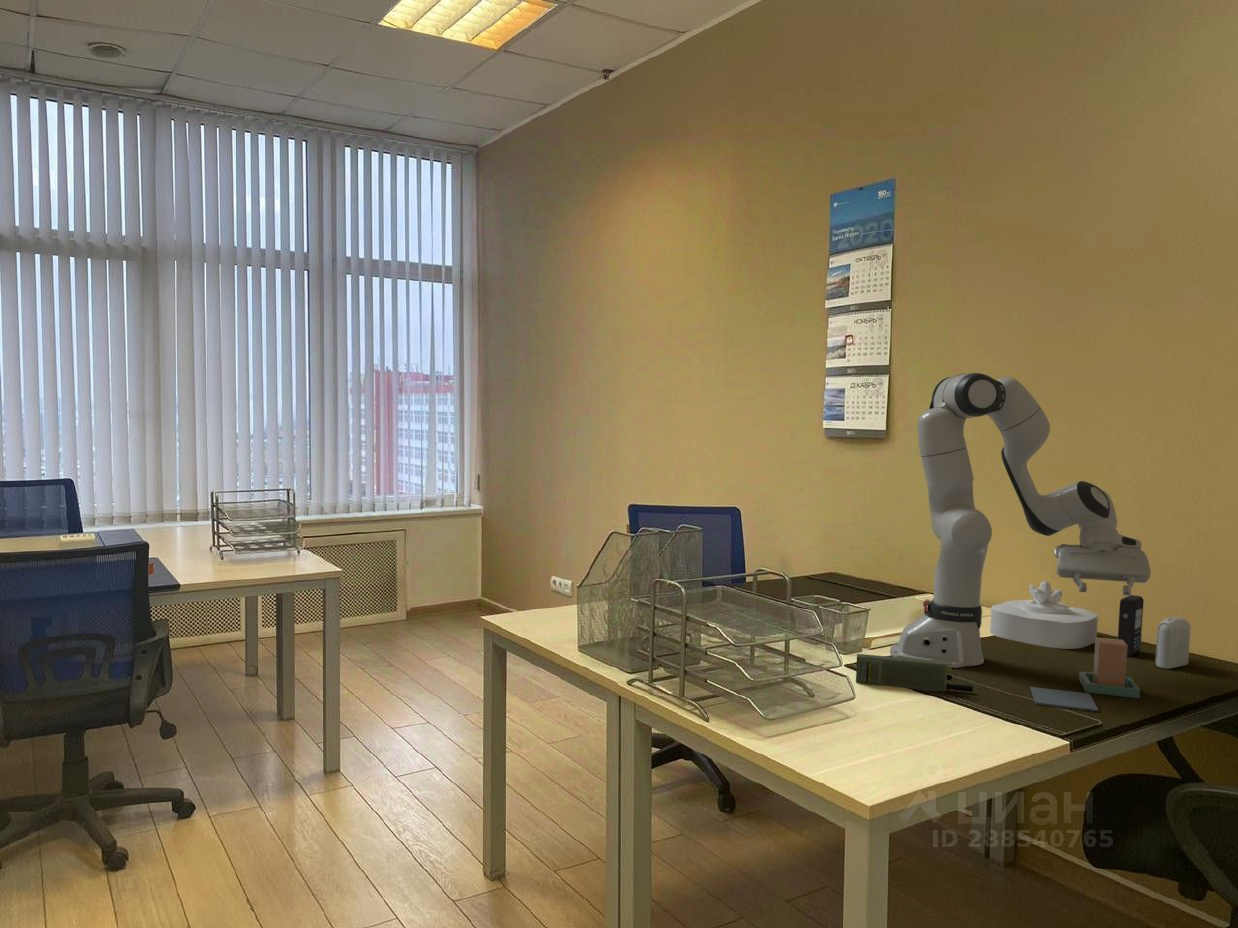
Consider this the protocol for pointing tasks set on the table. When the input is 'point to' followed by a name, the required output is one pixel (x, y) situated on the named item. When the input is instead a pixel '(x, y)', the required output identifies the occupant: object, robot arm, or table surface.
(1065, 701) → the rubber mat
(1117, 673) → the brown tall block
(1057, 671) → the table surface
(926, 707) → the table surface
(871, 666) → the handheld radio
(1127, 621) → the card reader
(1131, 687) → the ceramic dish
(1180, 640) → the photo printer
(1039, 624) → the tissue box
